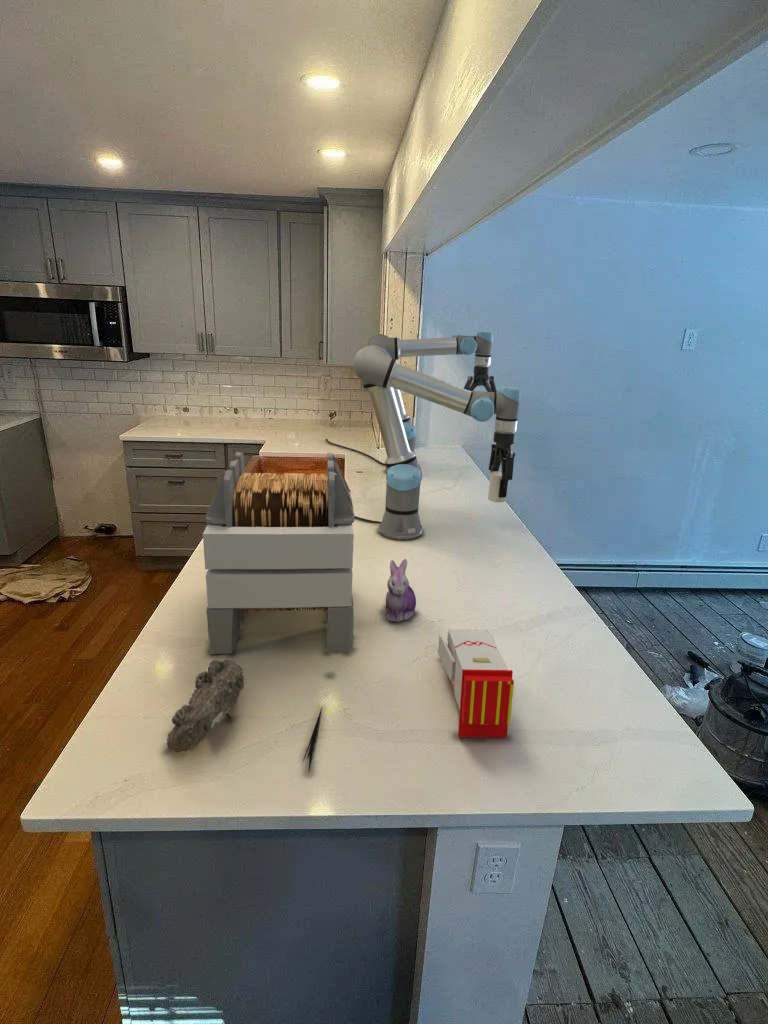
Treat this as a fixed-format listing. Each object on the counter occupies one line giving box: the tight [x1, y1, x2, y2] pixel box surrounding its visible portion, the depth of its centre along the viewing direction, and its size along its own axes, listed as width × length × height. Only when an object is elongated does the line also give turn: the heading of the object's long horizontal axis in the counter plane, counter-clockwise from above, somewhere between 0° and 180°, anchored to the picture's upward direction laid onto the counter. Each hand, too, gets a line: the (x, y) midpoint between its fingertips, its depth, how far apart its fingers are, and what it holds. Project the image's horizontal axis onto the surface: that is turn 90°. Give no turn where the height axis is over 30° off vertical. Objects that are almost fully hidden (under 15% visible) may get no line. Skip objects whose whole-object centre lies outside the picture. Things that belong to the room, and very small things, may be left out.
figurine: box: [384, 558, 417, 623], centre depth 145 cm, size 9×10×15 cm
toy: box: [437, 628, 515, 738], centre depth 117 cm, size 12×13×30 cm
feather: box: [301, 673, 332, 771], centre depth 108 cm, size 2×28×2 cm
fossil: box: [166, 658, 245, 754], centre depth 106 cm, size 22×10×15 cm
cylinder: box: [487, 470, 510, 503], centre depth 206 cm, size 7×7×10 cm
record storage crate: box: [202, 451, 355, 655], centre depth 137 cm, size 34×33×41 cm
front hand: (497, 493), depth 207 cm, fingers closed on cylinder, 7 cm apart
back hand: (477, 410), depth 278 cm, fingers open, 13 cm apart
